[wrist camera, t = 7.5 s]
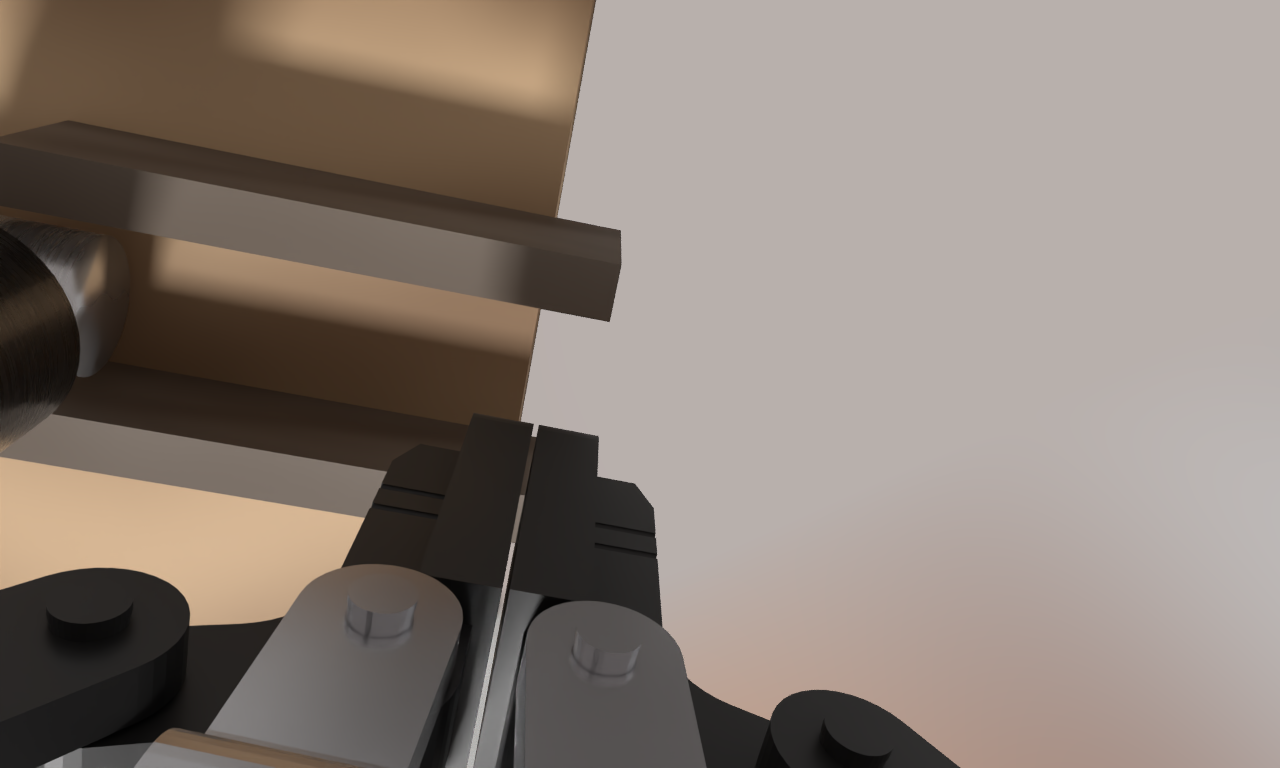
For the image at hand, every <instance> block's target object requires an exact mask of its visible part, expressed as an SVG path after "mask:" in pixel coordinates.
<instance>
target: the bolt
mask: <svg viewBox="0 0 1280 768" xmlns="http://www.w3.org/2000/svg"><path fill="white" fill-rule="evenodd" d="M129 296H130V272H129V265H128V260H127V256H126V253H125V251H124V249H123V247H122V245H121V244H120V242H119V241H118V240H117V239H116V238H114V237H112V236H109V235H104V234H99V233H94V232H88V231H83V230H78V229H72V228H67V227H62V226H57V225H51V224H46V223H41V222H36V221H30V220H25V219H20V218H15V217H9V216H4V215H0V453H1V452H2V451H4V450H5V449H6V448H8V447H9V446H10V445H12V444H13V443H14V442H16V441H17V440H18V439H20V438H21V437H22V436H24V435H25V434H26V433H28V432H29V431H30V430H32V429H33V428H34V427H36V426H37V425H38V424H40V423H41V422H42V421H44V420H45V419H46V418H47V417H48V416H50V415H51V414H52V413H53V412H55V411H56V409H57V408H58V407H59V406H60V405H61V404H62V403H63V401H64V400H65V399H66V397H67V395H68V394H69V392H70V390H71V388H72V386H73V384H74V381H75V379H76V376H78V377H89V376H92V375H94V374H95V373H97V372H98V371H99V370H100V369H101V368H102V367H103V366H104V365H105V364H106V363H107V361H108V360H109V358H110V357H111V355H112V353H113V352H114V350H115V348H116V346H117V343H118V341H119V339H120V336H121V333H122V330H123V327H124V324H125V320H126V316H127V311H128V305H129Z"/></svg>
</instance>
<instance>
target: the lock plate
mask: <svg viewBox="0 0 1280 768" xmlns="http://www.w3.org/2000/svg"><path fill="white" fill-rule="evenodd" d="M595 2H596V0H0V215H4V216H9V217H15V218H20V219H25V220H30V221H36V222H41V223H46V224H51V225H57V226H62V227H67V228H72V229H78V230H83V231H88V232H94V233H99V234H104V235H109V236H112V237H114V238H116V239H117V240H118V241H119V242H120V244H121V245H122V247H123V249H124V251H125V253H126V256H127V260H128V265H129V272H130V296H129V305H128V311H127V316H126V320H125V324H124V327H123V330H122V333H121V336H120V339H119V341H118V343H117V346H116V348H115V350H114V352H113V353H112V355H111V357H110V358H109V360H108V361H107V363H106V364H105V365H104V366H103V367H102V368H101V369H100V370H99V371H98V372H97V373H95V374H94V375H92V376H89V377H78V376H76V379H75V381H74V384H73V386H72V388H71V390H70V392H69V394H68V395H67V397H66V399H65V400H64V401H63V403H62V404H61V405H60V406H59V407H58V408H57V409H56V411H55V412H53V413H52V414H51V415H50V416H48V417H47V418H46V419H45V420H44V421H42V422H41V423H40V424H38V425H37V426H36V427H34V428H33V429H32V430H30V431H29V432H28V433H26V434H25V435H24V436H22V437H21V438H20V439H18V440H17V441H16V442H14V443H13V444H12V445H10V446H9V447H8V448H6V449H5V450H4V451H2V452H1V453H0V590H1V589H5V588H8V587H11V586H14V585H18V584H21V583H24V582H28V581H31V580H34V579H37V578H41V577H44V576H48V575H52V574H55V573H59V572H64V571H70V570H76V569H85V568H120V569H129V570H134V571H139V572H144V573H147V574H150V575H153V576H156V577H158V578H160V579H162V580H165V581H167V582H168V583H170V584H171V585H173V586H174V587H176V588H177V589H178V590H179V591H180V592H181V593H182V594H183V596H184V597H185V599H186V601H187V602H188V604H189V609H190V625H189V626H195V625H220V624H242V623H254V622H261V621H266V620H272V619H276V618H280V617H283V616H285V615H286V613H287V612H288V610H289V609H290V607H291V606H292V604H293V603H294V601H295V600H296V598H297V597H298V595H299V594H300V592H301V591H302V590H303V589H304V588H305V587H306V585H308V584H309V583H310V582H312V581H313V580H314V579H316V578H317V577H319V576H321V575H323V574H325V573H327V572H330V571H333V570H336V569H339V568H341V567H342V565H343V563H344V561H345V559H346V556H347V554H348V552H349V550H350V548H351V546H352V544H353V542H354V540H355V538H356V536H357V533H358V531H359V529H360V527H361V525H362V523H363V521H364V519H365V517H366V515H367V513H368V510H369V508H371V506H372V502H373V500H374V498H375V496H376V494H377V492H378V490H379V488H381V483H382V481H383V479H384V477H385V475H386V473H387V471H388V469H389V467H390V465H391V462H392V460H394V459H395V458H397V457H399V456H401V455H402V454H404V453H406V452H407V451H409V450H411V449H412V448H414V447H416V446H417V445H419V444H424V445H429V446H435V447H440V448H445V449H451V450H456V451H460V450H461V447H462V444H463V441H464V439H465V436H466V433H467V430H468V427H469V424H470V421H471V418H472V415H473V413H479V414H484V415H489V416H494V417H500V418H505V419H510V420H515V421H521V416H522V410H523V405H524V399H525V394H526V388H527V383H528V377H529V372H530V366H531V360H532V354H533V349H534V343H535V338H536V332H537V327H538V321H539V315H540V310H541V309H545V310H550V311H555V312H561V313H566V314H571V315H576V316H581V317H587V318H592V319H597V320H603V321H607V322H609V321H610V317H611V312H612V308H613V303H614V298H615V293H616V288H617V283H618V278H619V274H620V269H621V231H620V230H616V229H611V228H606V227H600V226H595V225H591V224H586V223H580V222H575V221H570V220H565V219H560V218H557V215H558V209H559V204H560V198H561V193H562V187H563V181H564V176H565V170H566V165H567V159H568V153H569V148H570V142H571V137H572V131H573V125H574V119H575V114H576V109H577V103H578V98H579V92H580V86H581V81H582V74H583V69H584V64H585V58H586V52H587V47H588V41H589V36H590V30H591V25H592V19H593V13H594V8H595ZM535 442H536V437H532V436H531V441H530V446H529V451H528V456H527V462H526V467H525V472H524V477H523V482H522V488H521V493H520V498H519V503H518V508H517V514H516V519H515V524H514V529H513V535H512V540H511V542H512V543H515V542H516V537H517V532H518V527H519V522H520V517H521V512H522V507H523V502H524V497H525V492H526V487H527V482H528V477H529V472H530V467H531V462H532V457H533V452H534V447H535Z"/></svg>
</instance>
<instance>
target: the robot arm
mask: <svg viewBox="0 0 1280 768" xmlns="http://www.w3.org/2000/svg"><path fill="white" fill-rule="evenodd" d="M533 425H534V424H531V423H525V422H521V421H515V420H510V419H505V418H500V417H494V416H489V415H484V414H479V413H473V415H472V418H471V421H470V424H469V427H468V430H467V433H466V436H465V439H464V441H463V444H462V447H461V450H460V451H456V450H451V449H445V448H440V447H435V446H429V445H424V444H419V445H417V446H416V447H414V448H412V449H411V450H409V451H407V452H406V453H404V454H402V455H401V456H399V457H397V458H395V459H394V460H392V462H391V465H390V467H389V469H388V471H387V473H386V475H385V477H384V479H383V481H382V483H381V488H379V490H378V492H377V494H376V496H375V498H374V500H373V502H372V506H371V508H369V510H368V513H367V515H366V517H365V519H364V521H363V523H362V525H361V527H360V529H359V531H358V533H357V536H356V538H355V540H354V542H353V544H352V546H351V548H350V550H349V552H348V554H347V556H346V559H345V561H344V563H343V565H342V567H341V568H339V569H336V570H333V571H330V572H327V573H325V574H323V575H321V576H319V577H317V578H316V579H314V580H313V581H312V582H310V583H309V584H308V585H306V587H305V588H304V589H303V590H302V591H301V592H300V594H299V595H298V597H297V598H296V600H295V601H294V603H293V604H292V606H291V607H290V609H289V610H288V612H287V613H286V615H285V616H283V617H280V618H276V619H272V620H266V621H261V622H254V623H242V624H220V625H195V626H189V625H190V609H189V604H188V602H187V601H186V599H185V597H184V596H183V594H182V593H181V592H180V591H179V590H178V589H177V588H176V587H174V586H173V585H171V584H170V583H168V582H167V581H165V580H162V579H160V578H158V577H156V576H153V575H150V574H147V573H144V572H139V571H134V570H129V569H120V568H85V569H76V570H70V571H64V572H59V573H55V574H52V575H48V576H44V577H41V578H37V579H34V580H31V581H28V582H24V583H21V584H18V585H14V586H11V587H8V588H5V589H1V590H0V768H467V763H468V758H469V753H470V748H471V743H472V738H473V733H474V728H475V723H476V718H477V713H478V708H479V703H480V697H481V692H482V687H483V682H484V677H485V672H486V667H487V662H488V657H489V652H490V647H491V642H492V637H493V632H494V627H495V622H496V617H497V612H498V607H499V602H500V597H501V592H502V587H503V582H504V576H505V571H506V566H507V561H508V555H509V550H510V545H511V540H512V535H513V529H514V524H515V519H516V514H517V508H518V503H519V498H520V493H521V488H522V482H523V477H524V472H525V467H526V462H527V456H528V451H529V446H530V441H531V435H532V430H533ZM598 442H599V437H598V436H595V435H590V434H584V433H579V432H574V431H569V430H563V429H558V428H553V427H547V426H542V425H539V428H538V433H537V437H536V442H535V447H534V452H533V457H532V462H531V467H530V472H529V477H528V482H527V487H526V492H525V497H524V502H523V507H522V512H521V517H520V522H519V527H518V532H517V537H516V542H515V547H514V552H513V557H512V562H511V567H510V572H509V578H508V583H507V588H506V594H505V599H504V604H503V610H502V615H501V621H500V626H499V632H498V637H497V642H496V648H495V653H494V659H493V664H492V670H491V675H490V680H489V686H488V691H487V697H486V702H485V708H484V713H483V718H482V724H481V729H480V735H479V740H478V746H477V751H476V756H475V762H474V767H473V768H960V767H959V766H957V765H956V764H955V763H953V762H952V761H951V760H950V759H949V758H947V757H946V756H945V755H944V754H942V753H941V752H940V751H938V750H937V749H936V748H935V747H934V746H932V745H931V744H930V743H928V742H927V741H926V740H925V739H923V738H922V737H921V736H920V735H918V734H917V733H916V732H915V731H913V730H912V729H911V728H910V727H908V726H907V725H906V724H905V723H903V722H902V721H901V720H899V719H898V718H897V717H895V716H894V715H892V714H891V713H889V712H888V711H886V710H884V709H882V708H881V707H879V706H877V705H874V704H872V703H871V702H868V701H866V700H864V699H861V698H858V697H855V696H853V695H849V694H845V693H840V692H836V691H828V690H809V691H802V692H798V693H795V694H792V695H790V696H788V697H786V698H785V699H783V700H782V701H781V702H780V703H779V704H778V705H777V706H776V708H775V710H774V711H773V713H772V716H771V719H770V720H767V719H765V718H762V717H760V716H757V715H755V714H752V713H749V712H747V711H745V710H742V709H740V708H737V707H735V706H732V705H730V704H728V703H725V702H723V701H721V700H719V699H717V698H715V697H713V696H711V695H710V694H708V693H706V692H705V691H703V690H702V689H700V688H699V687H698V686H696V685H695V684H693V683H692V682H691V681H690V680H689V679H688V678H687V674H686V669H685V665H684V661H683V656H682V653H681V651H680V648H679V646H678V645H677V643H676V642H675V640H674V639H673V638H672V637H671V636H670V634H669V633H668V632H667V631H666V630H665V629H664V628H662V617H661V616H662V615H661V603H660V588H659V574H658V561H657V559H656V556H657V547H656V538H655V520H654V508H653V507H652V505H651V504H650V503H649V502H648V500H647V499H646V498H645V496H644V495H643V494H642V492H641V491H640V490H639V489H638V487H637V486H636V485H635V484H634V483H628V482H623V481H617V480H612V479H607V478H601V477H597V469H598V468H597V467H598Z"/></svg>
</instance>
